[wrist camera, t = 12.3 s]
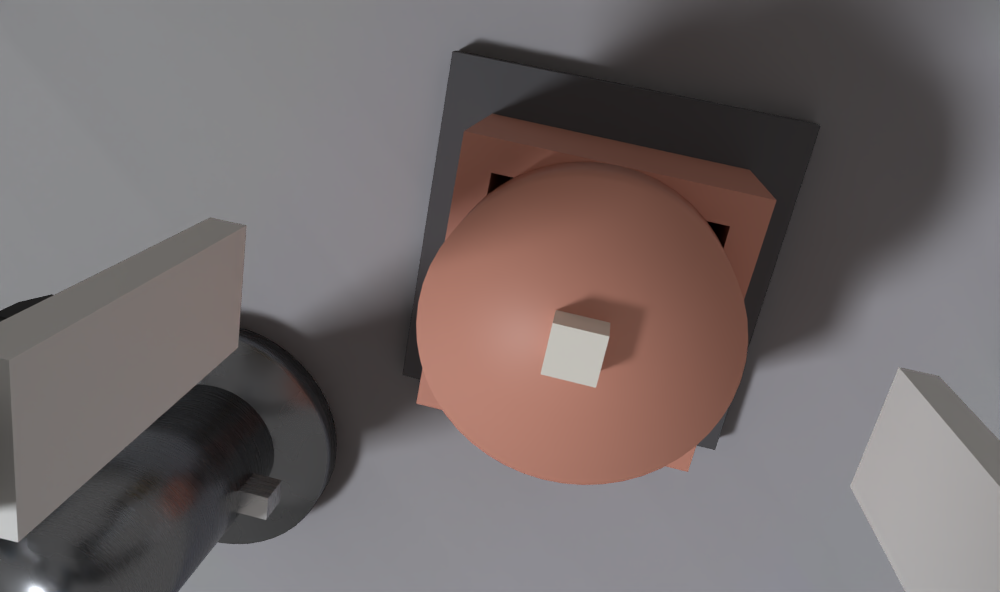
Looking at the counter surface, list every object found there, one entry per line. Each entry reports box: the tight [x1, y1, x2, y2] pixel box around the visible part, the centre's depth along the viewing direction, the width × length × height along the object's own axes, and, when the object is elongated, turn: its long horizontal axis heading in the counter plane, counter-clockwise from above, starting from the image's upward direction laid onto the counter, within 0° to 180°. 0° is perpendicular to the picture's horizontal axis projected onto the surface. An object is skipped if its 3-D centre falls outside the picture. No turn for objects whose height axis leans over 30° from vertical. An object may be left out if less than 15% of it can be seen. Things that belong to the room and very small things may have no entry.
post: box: [0, 328, 336, 592], centre depth 23 cm, size 8×8×9 cm
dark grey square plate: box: [403, 51, 820, 450], centre depth 23 cm, size 10×10×1 cm
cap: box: [416, 114, 777, 485], centre depth 19 cm, size 7×7×7 cm
